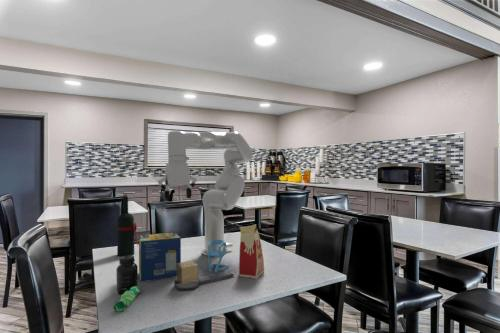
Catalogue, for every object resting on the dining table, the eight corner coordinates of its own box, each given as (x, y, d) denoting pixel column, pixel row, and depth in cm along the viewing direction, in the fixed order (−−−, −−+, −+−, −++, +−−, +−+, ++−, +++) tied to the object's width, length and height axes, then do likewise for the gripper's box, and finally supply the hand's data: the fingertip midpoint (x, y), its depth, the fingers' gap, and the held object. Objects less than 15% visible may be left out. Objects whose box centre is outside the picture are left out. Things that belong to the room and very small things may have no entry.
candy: (127, 309, 89) (120, 297, 89) (118, 315, 89) (110, 304, 89) (142, 292, 101) (135, 282, 101) (134, 298, 101) (127, 288, 101)
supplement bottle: (120, 288, 107) (120, 254, 107) (140, 287, 107) (140, 253, 107) (113, 296, 100) (113, 260, 100) (134, 295, 100) (134, 259, 100)
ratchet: (226, 272, 122) (226, 256, 122) (237, 279, 114) (237, 262, 114) (170, 284, 110) (170, 267, 110) (179, 293, 102) (179, 274, 102)
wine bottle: (136, 256, 145) (135, 194, 145) (114, 257, 144) (114, 195, 144) (141, 252, 152) (140, 193, 153) (121, 252, 152) (120, 193, 152)
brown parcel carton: (191, 276, 112) (191, 260, 112) (197, 281, 107) (197, 265, 107) (176, 280, 109) (176, 263, 109) (181, 285, 104) (181, 268, 104)
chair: (204, 271, 123) (203, 242, 123) (213, 265, 131) (213, 237, 131) (220, 273, 121) (220, 243, 121) (229, 267, 128) (229, 239, 128)
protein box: (138, 273, 122) (138, 235, 122) (176, 268, 128) (176, 231, 128) (140, 282, 112) (139, 241, 112) (181, 276, 118) (181, 237, 118)
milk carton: (264, 270, 123) (263, 222, 124) (257, 278, 115) (257, 226, 115) (243, 268, 126) (243, 221, 127) (235, 276, 118) (235, 225, 118)
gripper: (192, 159, 138) (193, 196, 139) (154, 160, 129) (155, 199, 129) (199, 159, 132) (200, 198, 132) (160, 159, 122) (161, 201, 123)
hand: (178, 198), depth 131 cm, fingers open, 9 cm apart
